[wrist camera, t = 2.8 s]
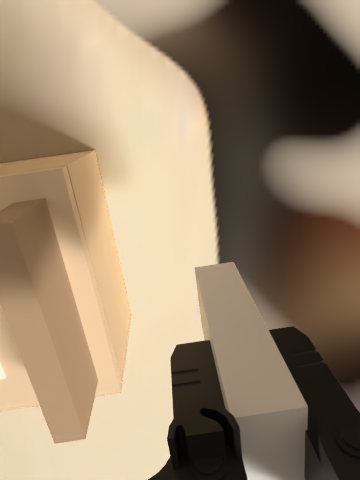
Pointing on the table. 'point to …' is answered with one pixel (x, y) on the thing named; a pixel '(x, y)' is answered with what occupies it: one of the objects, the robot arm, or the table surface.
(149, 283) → the table surface
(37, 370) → the lid
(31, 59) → the table surface
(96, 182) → the box
